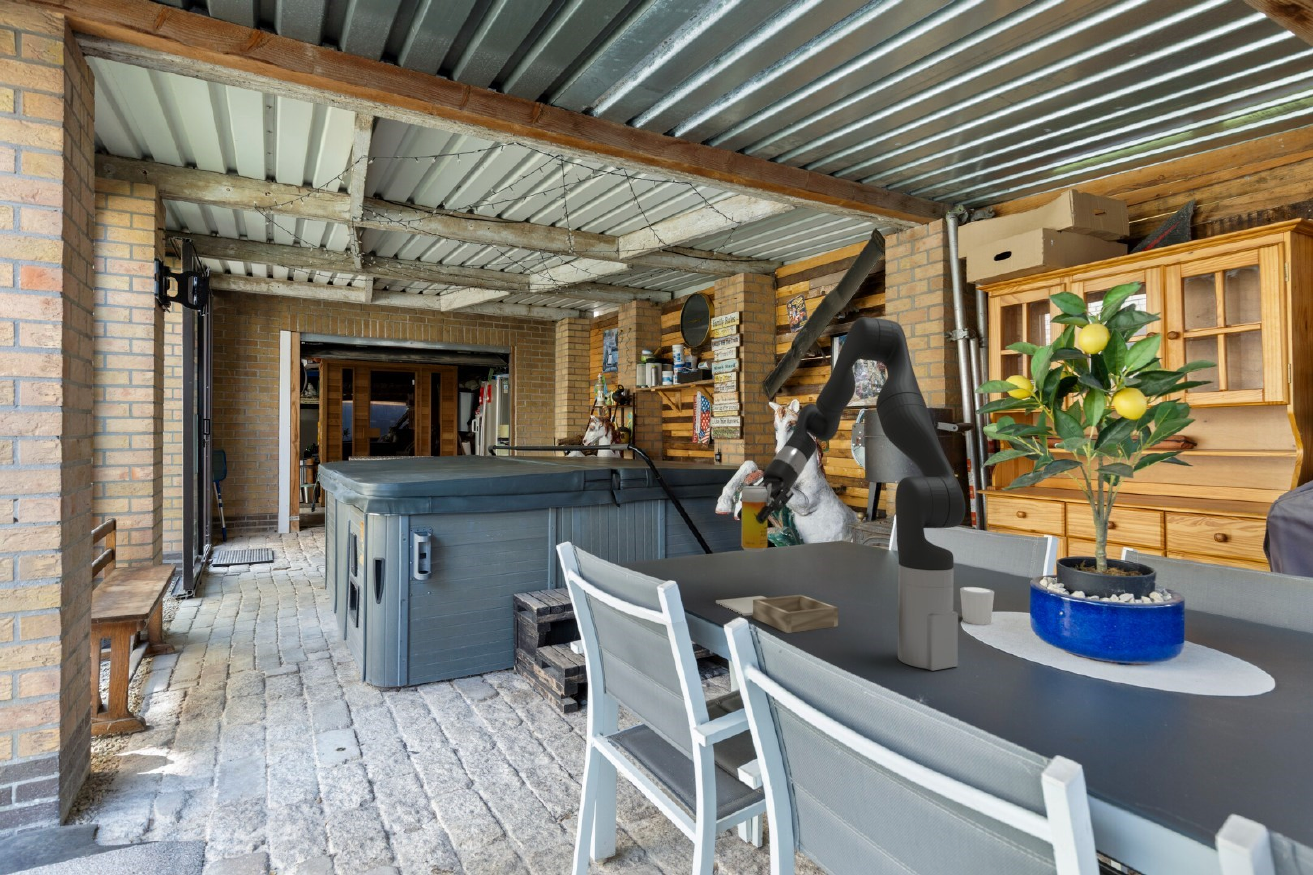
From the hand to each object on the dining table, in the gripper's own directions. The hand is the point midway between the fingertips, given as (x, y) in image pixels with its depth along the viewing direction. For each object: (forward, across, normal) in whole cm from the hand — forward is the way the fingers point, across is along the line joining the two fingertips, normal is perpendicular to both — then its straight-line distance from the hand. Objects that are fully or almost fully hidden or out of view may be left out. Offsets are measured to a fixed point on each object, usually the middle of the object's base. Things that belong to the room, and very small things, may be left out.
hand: (749, 519), depth 160 cm
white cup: (-10, +36, +40) cm, 54 cm away
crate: (+15, +15, +15) cm, 26 cm away
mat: (+14, 0, +16) cm, 21 cm away
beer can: (+4, 0, +6) cm, 8 cm away
